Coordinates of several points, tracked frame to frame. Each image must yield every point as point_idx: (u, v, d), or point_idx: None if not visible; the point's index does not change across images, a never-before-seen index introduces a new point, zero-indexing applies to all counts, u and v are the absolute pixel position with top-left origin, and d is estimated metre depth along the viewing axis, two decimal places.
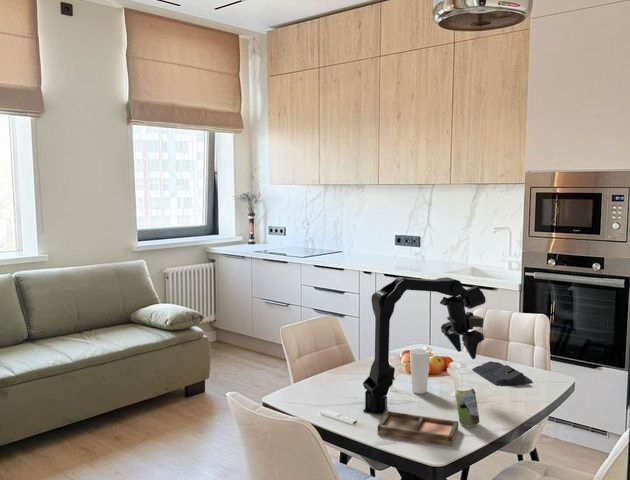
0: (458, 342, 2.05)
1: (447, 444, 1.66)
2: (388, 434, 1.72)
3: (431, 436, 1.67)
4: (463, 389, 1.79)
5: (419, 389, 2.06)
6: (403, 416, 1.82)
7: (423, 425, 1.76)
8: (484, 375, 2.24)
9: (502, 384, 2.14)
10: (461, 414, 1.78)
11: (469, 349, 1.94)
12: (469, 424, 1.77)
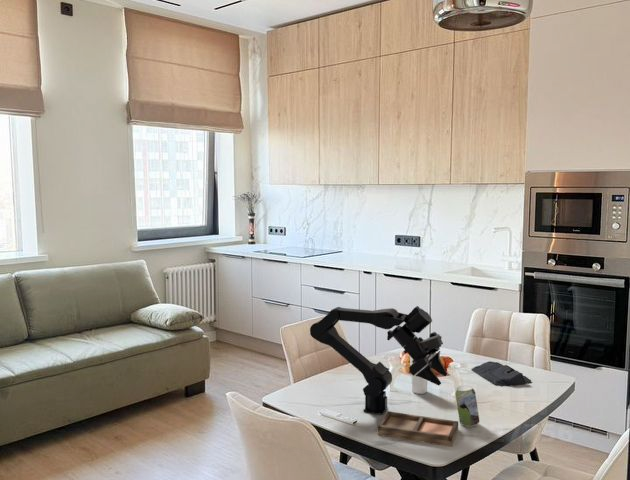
0: (439, 366, 1.87)
1: (447, 444, 1.66)
2: (388, 434, 1.72)
3: (431, 436, 1.67)
4: (463, 389, 1.79)
5: (419, 389, 2.06)
6: (403, 416, 1.82)
7: (423, 425, 1.76)
8: (483, 375, 2.24)
9: (501, 384, 2.14)
10: (461, 414, 1.78)
11: (424, 377, 1.78)
12: (469, 424, 1.77)
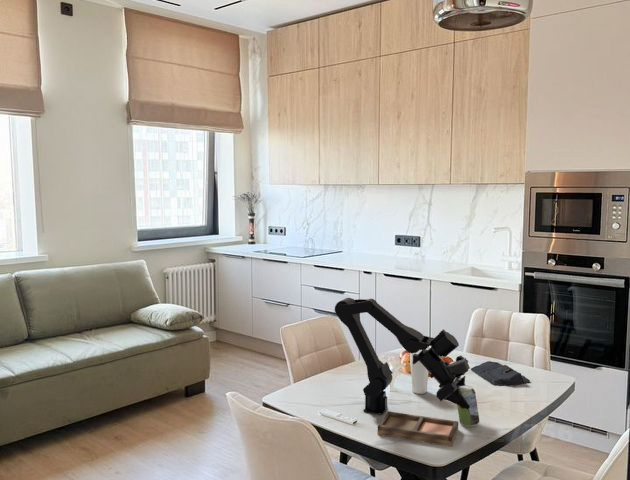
0: None
1: (447, 444, 1.66)
2: (388, 434, 1.72)
3: (431, 436, 1.67)
4: (463, 389, 1.79)
5: (419, 389, 2.06)
6: (403, 416, 1.82)
7: (423, 425, 1.76)
8: (482, 375, 2.24)
9: (499, 384, 2.15)
10: (461, 414, 1.78)
11: (453, 401, 1.77)
12: (469, 424, 1.77)
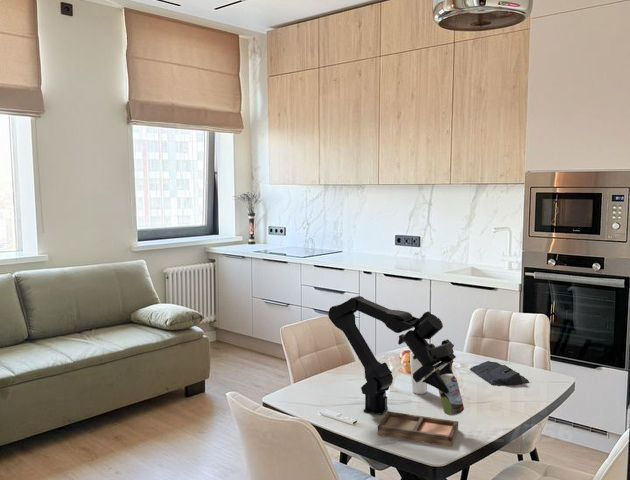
0: None
1: (447, 444, 1.66)
2: (388, 434, 1.72)
3: (431, 436, 1.67)
4: (443, 377, 1.74)
5: (419, 389, 2.06)
6: (403, 416, 1.82)
7: (423, 425, 1.76)
8: (481, 375, 2.24)
9: (498, 384, 2.15)
10: (442, 403, 1.74)
11: (432, 384, 1.72)
12: (450, 413, 1.72)
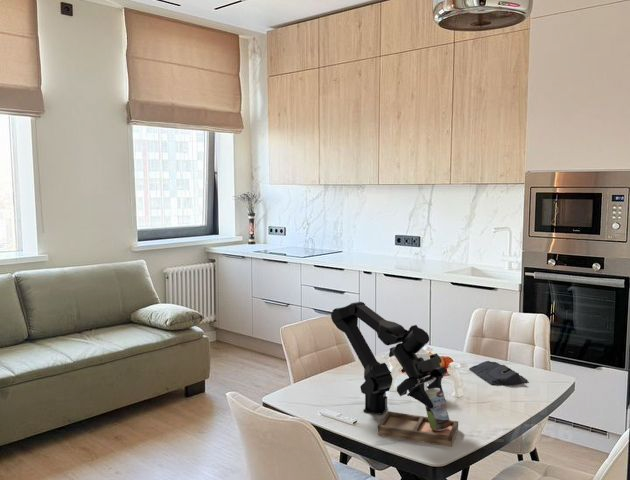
0: None
1: (447, 444, 1.66)
2: (388, 434, 1.72)
3: (431, 436, 1.67)
4: (429, 391, 1.72)
5: None
6: (403, 416, 1.82)
7: (423, 425, 1.76)
8: (480, 374, 2.24)
9: (497, 384, 2.15)
10: (428, 417, 1.72)
11: (417, 398, 1.71)
12: (435, 428, 1.70)
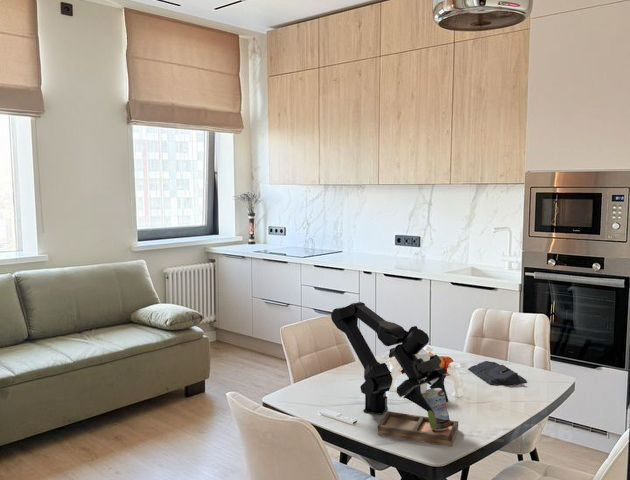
0: None
1: (447, 444, 1.66)
2: (388, 434, 1.72)
3: (431, 436, 1.67)
4: (430, 391, 1.73)
5: None
6: (403, 416, 1.82)
7: (423, 425, 1.76)
8: (479, 374, 2.24)
9: (496, 384, 2.15)
10: (428, 417, 1.73)
11: (413, 401, 1.70)
12: (435, 427, 1.70)
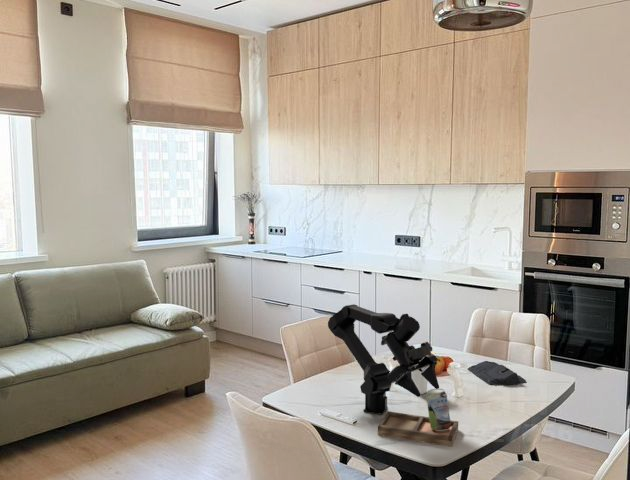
0: (432, 378, 1.78)
1: (447, 444, 1.66)
2: (388, 434, 1.72)
3: (431, 436, 1.67)
4: (433, 391, 1.72)
5: (419, 389, 2.06)
6: (403, 416, 1.82)
7: (423, 425, 1.76)
8: (478, 374, 2.25)
9: (495, 384, 2.15)
10: (429, 417, 1.72)
11: (404, 387, 1.73)
12: (435, 428, 1.70)
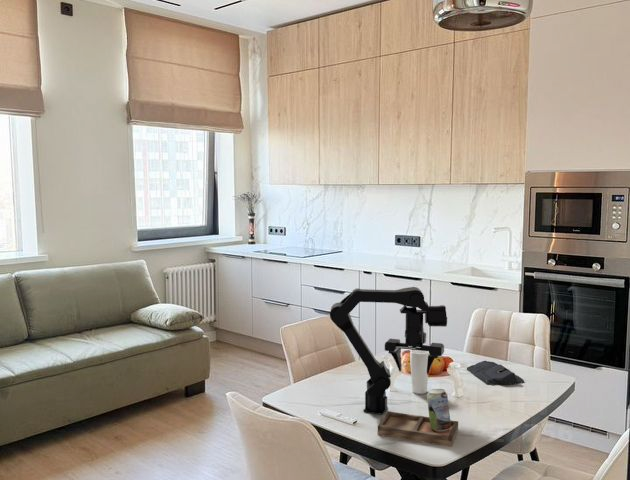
0: (400, 360, 1.92)
1: (447, 444, 1.66)
2: (388, 434, 1.72)
3: (431, 436, 1.67)
4: (433, 391, 1.72)
5: (419, 389, 2.06)
6: (403, 416, 1.82)
7: (423, 425, 1.76)
8: (476, 374, 2.25)
9: (493, 384, 2.15)
10: (429, 417, 1.72)
11: (431, 362, 1.86)
12: (435, 428, 1.70)
